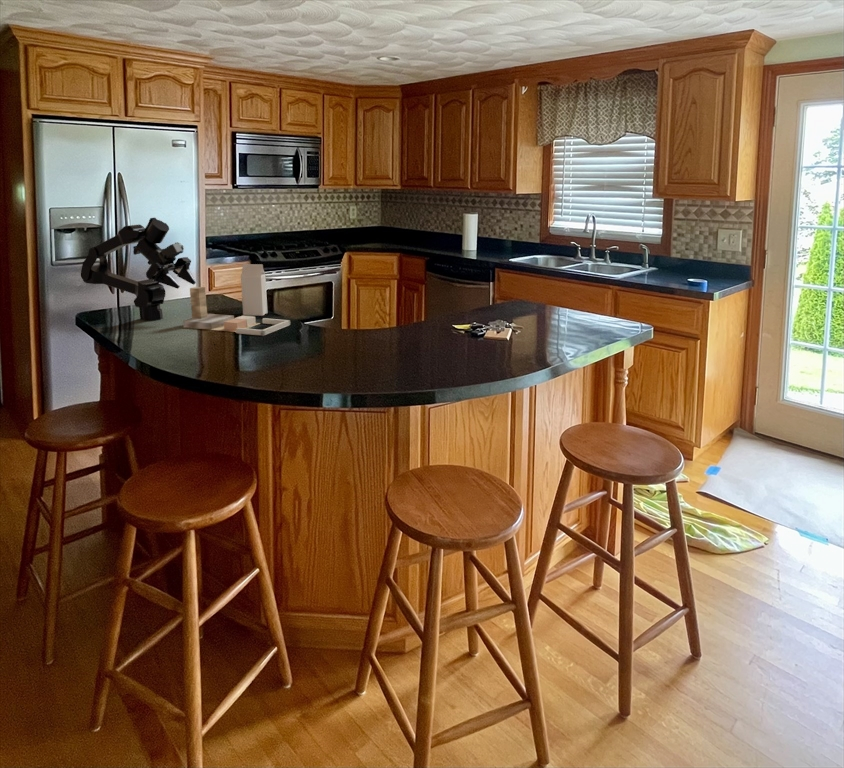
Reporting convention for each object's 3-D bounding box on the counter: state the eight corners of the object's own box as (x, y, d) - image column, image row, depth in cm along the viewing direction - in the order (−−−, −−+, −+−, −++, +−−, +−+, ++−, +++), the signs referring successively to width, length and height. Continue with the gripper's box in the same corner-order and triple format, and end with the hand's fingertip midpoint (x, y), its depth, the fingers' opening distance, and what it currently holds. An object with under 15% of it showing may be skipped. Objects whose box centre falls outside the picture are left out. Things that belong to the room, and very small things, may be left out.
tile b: (224, 329, 244) (223, 321, 243) (232, 326, 248) (232, 318, 247) (237, 330, 242) (237, 323, 241) (246, 327, 246) (245, 320, 246)
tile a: (234, 325, 249) (233, 318, 248) (242, 322, 253) (242, 315, 253) (247, 326, 247) (247, 319, 247) (255, 323, 252) (255, 316, 251)
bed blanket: (183, 326, 247) (180, 290, 244) (207, 319, 259) (204, 284, 256) (211, 329, 244) (208, 292, 241) (234, 321, 256) (231, 286, 252)
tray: (236, 337, 239) (235, 328, 238) (264, 326, 255) (264, 318, 254) (263, 340, 236) (263, 330, 235) (290, 329, 251) (290, 320, 250)
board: (182, 331, 247) (182, 326, 247) (208, 323, 260) (207, 318, 260) (237, 336, 241) (237, 331, 240) (261, 327, 253) (260, 323, 253)
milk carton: (263, 319, 266) (260, 265, 261) (243, 319, 266) (239, 265, 261) (267, 315, 273) (264, 263, 268) (248, 315, 273) (244, 263, 268)
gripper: (147, 237, 240) (182, 271, 239) (182, 233, 257) (214, 264, 256) (131, 263, 244) (165, 296, 244) (166, 257, 261) (198, 288, 261)
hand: (186, 285), depth 251 cm, fingers open, 9 cm apart
